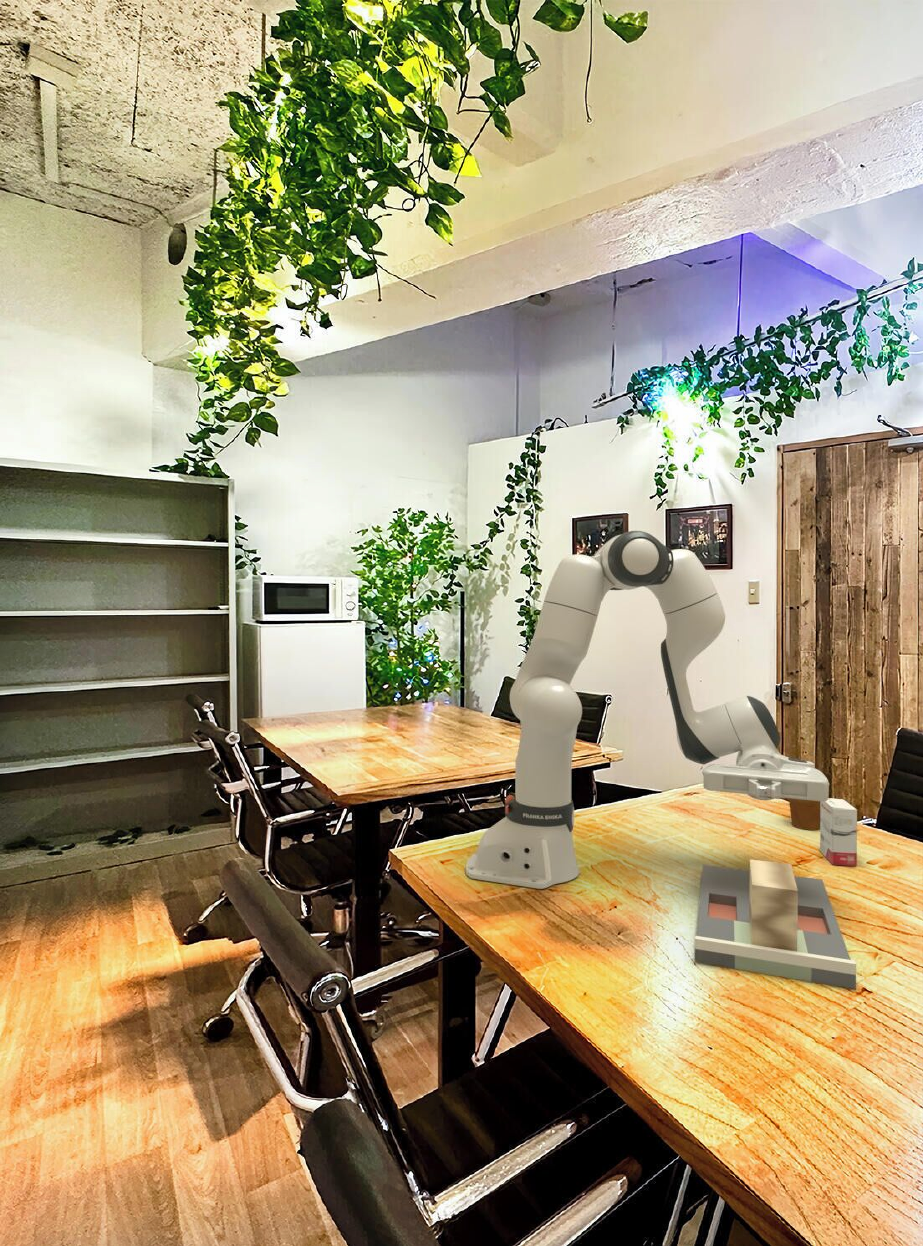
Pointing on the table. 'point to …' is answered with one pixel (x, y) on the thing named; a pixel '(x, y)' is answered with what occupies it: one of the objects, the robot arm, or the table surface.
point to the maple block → (773, 905)
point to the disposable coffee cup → (805, 814)
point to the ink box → (838, 832)
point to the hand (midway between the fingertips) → (765, 792)
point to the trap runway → (730, 947)
